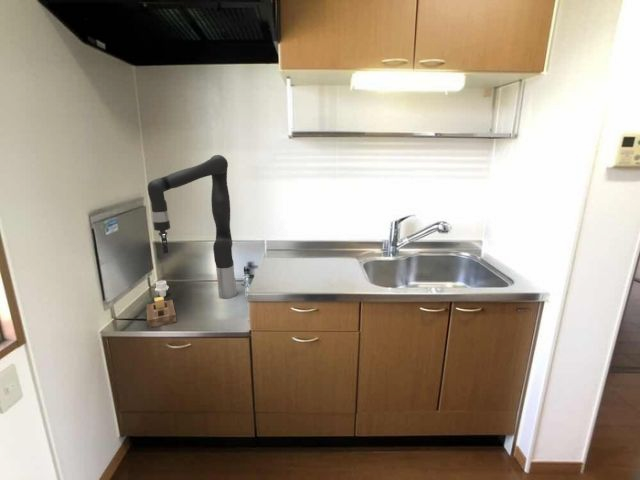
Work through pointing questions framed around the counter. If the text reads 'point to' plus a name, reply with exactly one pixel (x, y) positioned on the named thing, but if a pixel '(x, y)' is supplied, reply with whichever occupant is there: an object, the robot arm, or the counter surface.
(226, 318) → the counter surface
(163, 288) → the pipe fitting
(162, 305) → the square peg
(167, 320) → the socket block
